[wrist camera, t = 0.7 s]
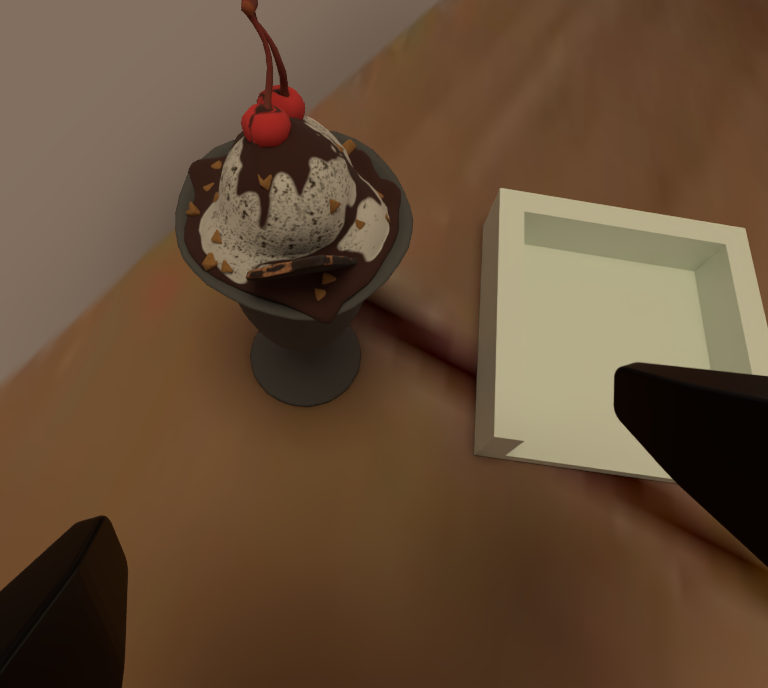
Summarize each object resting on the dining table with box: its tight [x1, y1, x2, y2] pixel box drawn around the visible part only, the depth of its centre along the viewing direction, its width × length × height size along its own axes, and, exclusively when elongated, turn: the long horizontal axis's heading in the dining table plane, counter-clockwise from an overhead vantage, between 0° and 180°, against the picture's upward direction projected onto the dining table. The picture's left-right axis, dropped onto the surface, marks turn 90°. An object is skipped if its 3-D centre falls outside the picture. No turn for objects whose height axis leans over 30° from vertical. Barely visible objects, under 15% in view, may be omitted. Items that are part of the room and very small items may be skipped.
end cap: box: [474, 188, 768, 483], centre depth 25 cm, size 12×12×3 cm
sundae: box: [175, 0, 413, 407], centre depth 17 cm, size 7×7×15 cm
